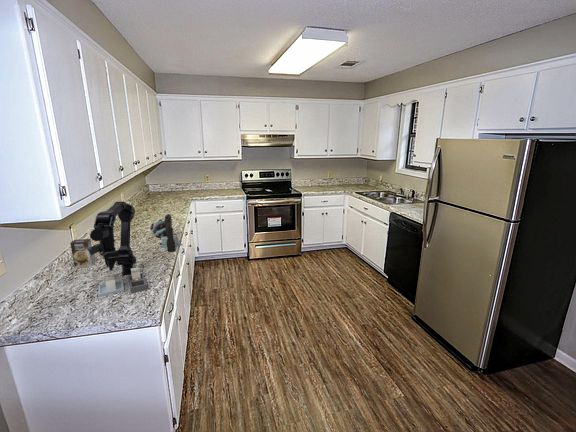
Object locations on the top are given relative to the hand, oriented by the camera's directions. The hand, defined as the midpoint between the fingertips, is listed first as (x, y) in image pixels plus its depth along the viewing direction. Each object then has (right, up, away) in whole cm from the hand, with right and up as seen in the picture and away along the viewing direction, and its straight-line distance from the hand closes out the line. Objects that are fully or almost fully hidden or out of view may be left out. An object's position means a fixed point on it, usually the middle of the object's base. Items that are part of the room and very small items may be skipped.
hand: (109, 268), depth 152 cm
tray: (-1, -12, +4) cm, 12 cm away
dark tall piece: (+5, +4, +67) cm, 67 cm away
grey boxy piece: (+10, -11, +8) cm, 17 cm away
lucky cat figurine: (-11, +11, +91) cm, 92 cm away
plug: (-1, -11, +4) cm, 12 cm away
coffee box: (-35, -4, +34) cm, 49 cm away
